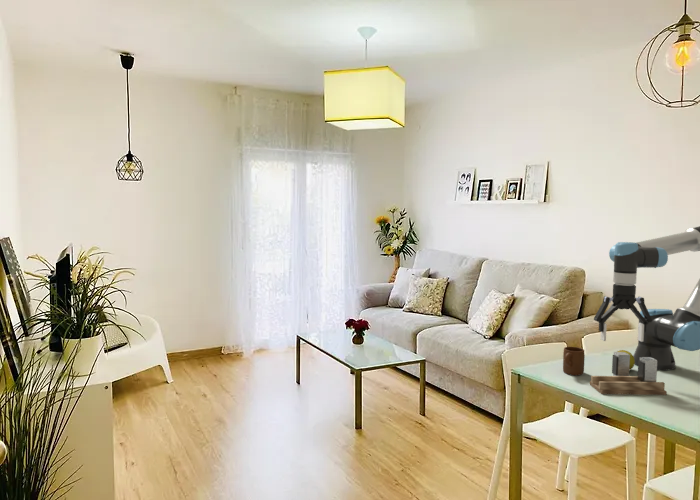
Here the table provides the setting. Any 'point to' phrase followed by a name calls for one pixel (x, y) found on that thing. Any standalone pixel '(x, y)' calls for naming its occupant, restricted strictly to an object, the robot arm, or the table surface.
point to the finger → (647, 369)
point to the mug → (573, 360)
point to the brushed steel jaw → (620, 364)
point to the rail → (626, 385)
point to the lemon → (630, 359)
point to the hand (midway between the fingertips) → (621, 340)
